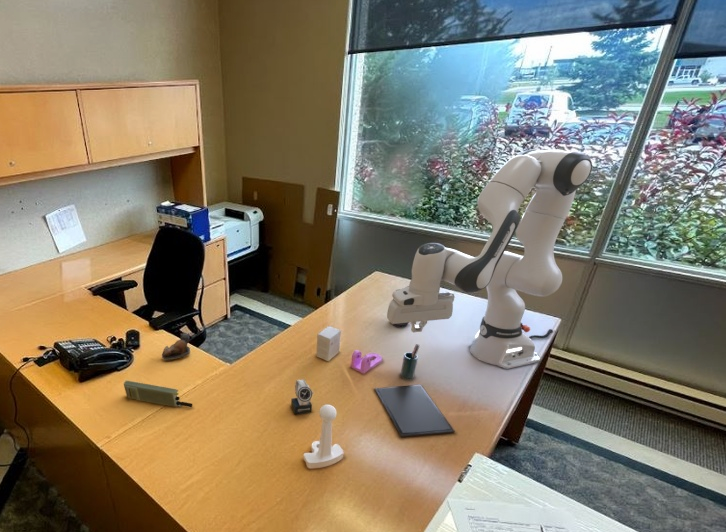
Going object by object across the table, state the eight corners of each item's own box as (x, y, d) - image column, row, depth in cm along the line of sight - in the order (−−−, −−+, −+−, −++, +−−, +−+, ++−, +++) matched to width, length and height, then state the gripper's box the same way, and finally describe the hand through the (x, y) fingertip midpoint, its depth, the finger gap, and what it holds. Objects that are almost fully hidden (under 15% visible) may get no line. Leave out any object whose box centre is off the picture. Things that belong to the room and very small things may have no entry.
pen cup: (410, 372, 150) (414, 351, 145) (415, 379, 146) (420, 358, 141) (398, 373, 150) (402, 352, 145) (403, 380, 146) (407, 359, 141)
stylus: (407, 374, 148) (419, 347, 137) (403, 373, 148) (415, 346, 138) (408, 372, 149) (420, 344, 138) (404, 370, 149) (415, 343, 139)
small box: (327, 347, 166) (328, 325, 161) (339, 352, 163) (341, 330, 158) (315, 356, 162) (317, 333, 156) (328, 361, 158) (329, 338, 153)
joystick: (310, 471, 115) (313, 417, 105) (297, 451, 121) (299, 399, 111) (345, 460, 117) (351, 406, 107) (331, 441, 124) (336, 389, 114)
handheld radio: (130, 393, 149) (194, 404, 142) (126, 399, 147) (190, 411, 139) (127, 378, 146) (192, 390, 138) (122, 384, 143) (188, 396, 136)
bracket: (363, 374, 150) (365, 359, 147) (350, 367, 154) (352, 352, 151) (384, 360, 157) (386, 345, 153) (371, 354, 161) (373, 339, 157)
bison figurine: (163, 364, 163) (160, 343, 158) (161, 355, 169) (157, 334, 164) (193, 358, 166) (190, 337, 161) (189, 349, 172) (187, 328, 167)
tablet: (420, 386, 143) (420, 384, 142) (454, 433, 123) (454, 430, 123) (374, 390, 142) (374, 388, 142) (401, 437, 123) (401, 435, 123)
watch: (296, 418, 133) (297, 392, 127) (289, 402, 140) (290, 376, 134) (313, 416, 133) (315, 389, 128) (305, 399, 140) (306, 374, 135)
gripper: (450, 287, 134) (442, 323, 141) (387, 292, 134) (382, 329, 141) (460, 295, 129) (452, 333, 136) (395, 301, 129) (390, 339, 136)
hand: (416, 331), depth 138 cm, fingers closed
